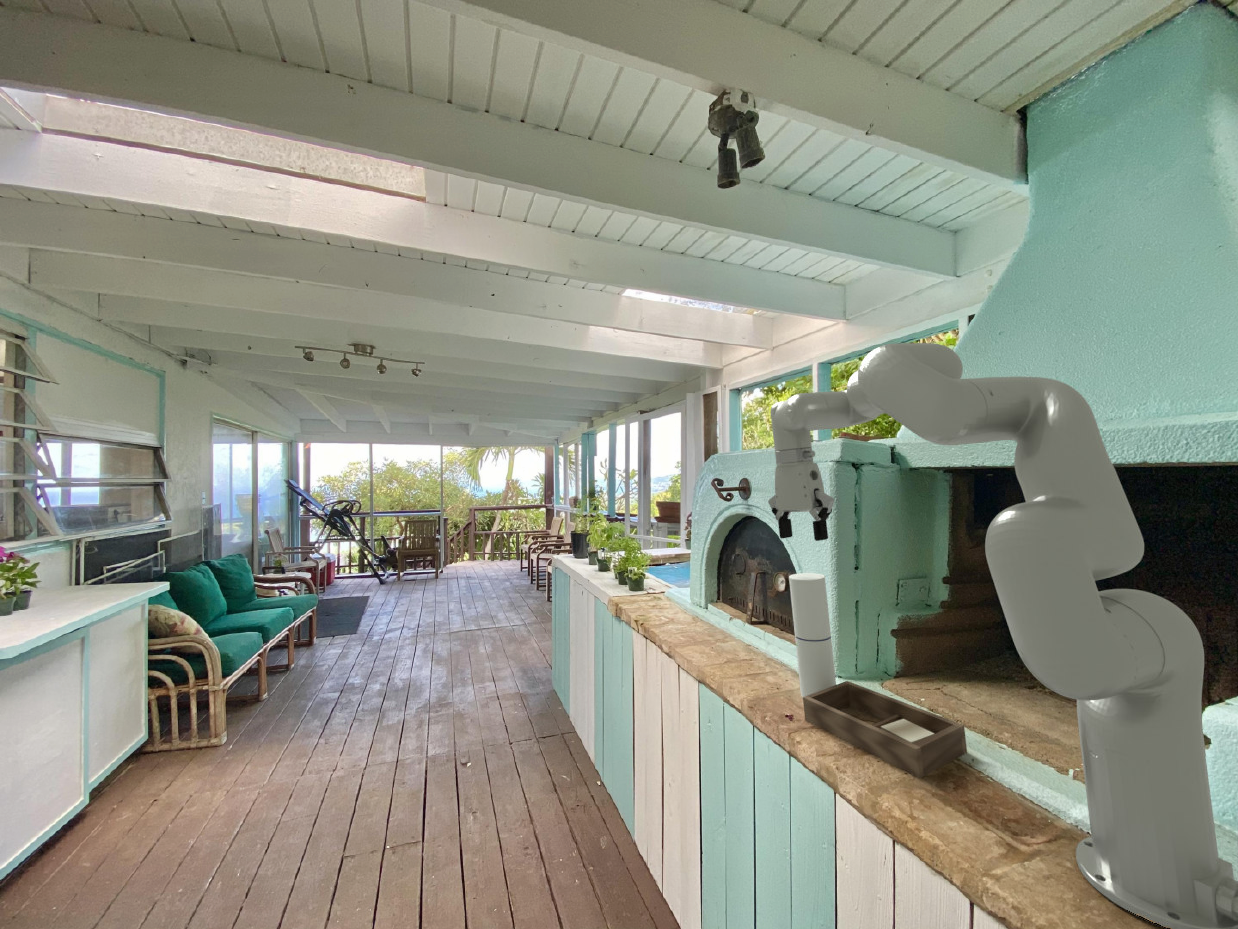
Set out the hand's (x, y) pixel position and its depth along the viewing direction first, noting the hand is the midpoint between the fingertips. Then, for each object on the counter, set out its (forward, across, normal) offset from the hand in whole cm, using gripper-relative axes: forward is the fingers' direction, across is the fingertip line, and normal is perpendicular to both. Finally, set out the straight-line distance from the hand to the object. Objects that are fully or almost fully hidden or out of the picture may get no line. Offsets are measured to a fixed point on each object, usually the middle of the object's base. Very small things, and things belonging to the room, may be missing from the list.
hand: (803, 538), depth 105 cm
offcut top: (+31, -23, +5) cm, 39 cm away
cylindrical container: (+33, +1, 0) cm, 33 cm away
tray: (+33, -17, +5) cm, 38 cm away
